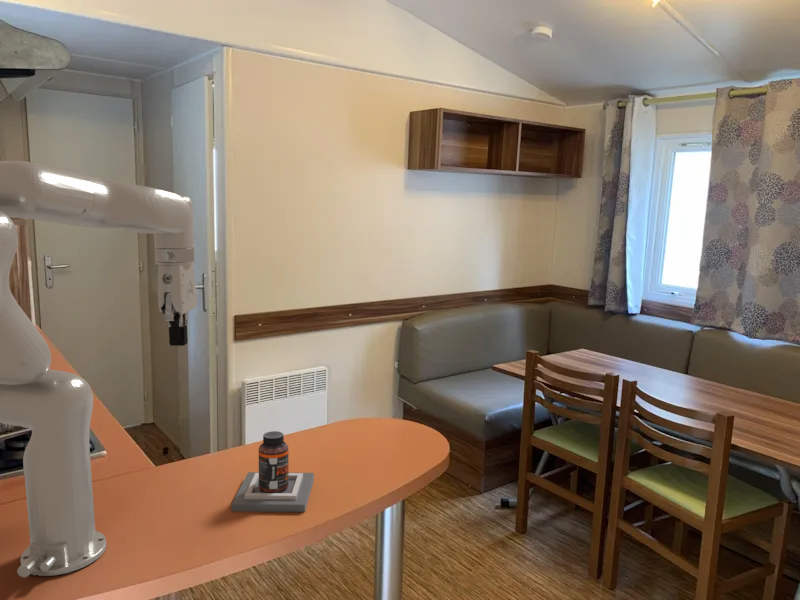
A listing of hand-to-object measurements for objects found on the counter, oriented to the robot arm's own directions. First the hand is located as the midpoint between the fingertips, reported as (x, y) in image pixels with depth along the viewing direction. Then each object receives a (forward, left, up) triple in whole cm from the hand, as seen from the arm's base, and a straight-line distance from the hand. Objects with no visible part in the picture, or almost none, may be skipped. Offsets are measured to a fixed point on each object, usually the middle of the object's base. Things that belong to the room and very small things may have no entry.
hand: (178, 344), depth 129 cm
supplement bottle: (-8, -21, -28) cm, 36 cm away
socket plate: (-8, -21, -29) cm, 37 cm away
